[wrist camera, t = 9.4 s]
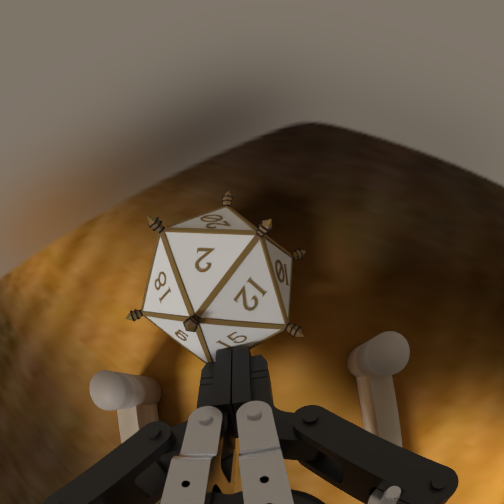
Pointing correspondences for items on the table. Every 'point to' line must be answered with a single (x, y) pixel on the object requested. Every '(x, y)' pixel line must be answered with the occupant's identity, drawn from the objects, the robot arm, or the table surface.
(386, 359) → the chute
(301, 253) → the game die
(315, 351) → the table surface
